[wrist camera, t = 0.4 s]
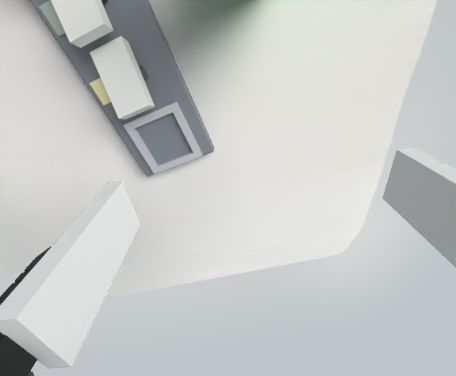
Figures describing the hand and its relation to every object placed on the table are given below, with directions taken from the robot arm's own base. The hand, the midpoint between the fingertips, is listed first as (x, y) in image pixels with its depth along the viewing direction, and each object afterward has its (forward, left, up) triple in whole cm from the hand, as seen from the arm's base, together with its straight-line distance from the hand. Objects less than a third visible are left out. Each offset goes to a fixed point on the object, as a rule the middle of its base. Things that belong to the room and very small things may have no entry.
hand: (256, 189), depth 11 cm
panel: (-7, -12, -25) cm, 29 cm away
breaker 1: (-16, -12, -21) cm, 29 cm away
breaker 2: (-8, -12, -21) cm, 25 cm away
